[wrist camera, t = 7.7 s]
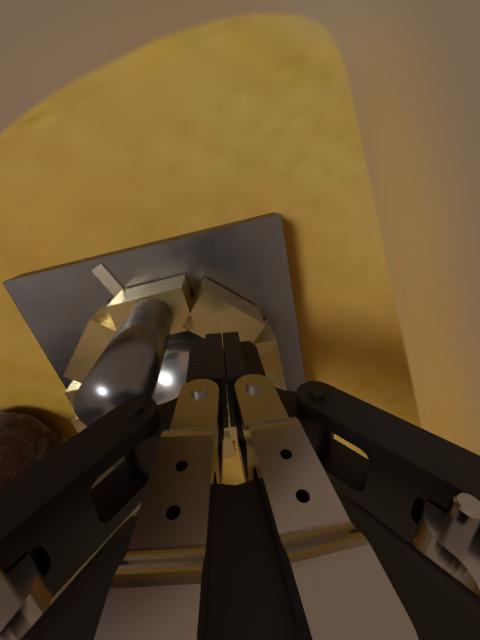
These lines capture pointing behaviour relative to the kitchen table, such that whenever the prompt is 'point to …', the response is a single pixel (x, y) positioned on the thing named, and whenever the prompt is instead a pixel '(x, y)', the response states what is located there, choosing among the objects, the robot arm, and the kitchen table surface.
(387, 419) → the robot arm
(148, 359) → the tan block ring
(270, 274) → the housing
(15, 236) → the kitchen table surface
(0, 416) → the candle
